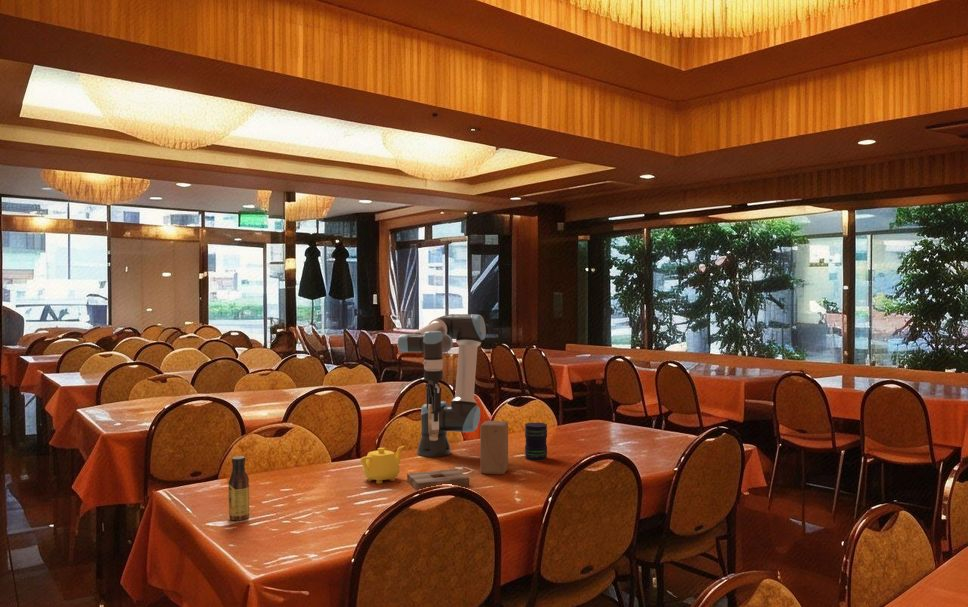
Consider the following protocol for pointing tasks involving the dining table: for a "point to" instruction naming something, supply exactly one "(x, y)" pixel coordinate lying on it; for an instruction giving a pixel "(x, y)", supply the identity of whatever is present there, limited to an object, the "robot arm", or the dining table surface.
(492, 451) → the wooden block
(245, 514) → the sauce bottle
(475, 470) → the dining table surface
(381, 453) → the teapot
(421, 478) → the board
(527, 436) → the storage jar
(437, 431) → the peg
